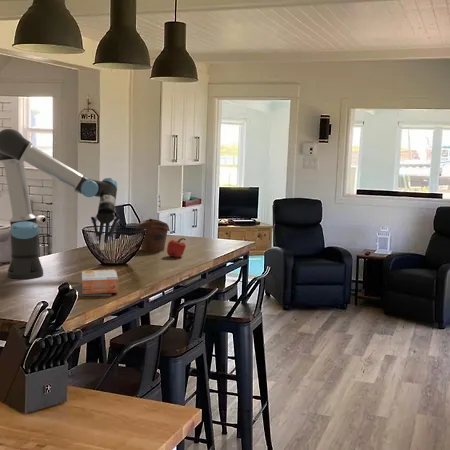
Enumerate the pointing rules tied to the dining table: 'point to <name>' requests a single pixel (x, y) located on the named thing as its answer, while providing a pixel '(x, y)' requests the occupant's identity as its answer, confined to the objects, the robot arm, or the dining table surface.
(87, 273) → the cracker box
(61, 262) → the dining table surface
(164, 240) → the brown lidded pot
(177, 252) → the vegetable
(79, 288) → the grey mat
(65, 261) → the dining table surface
